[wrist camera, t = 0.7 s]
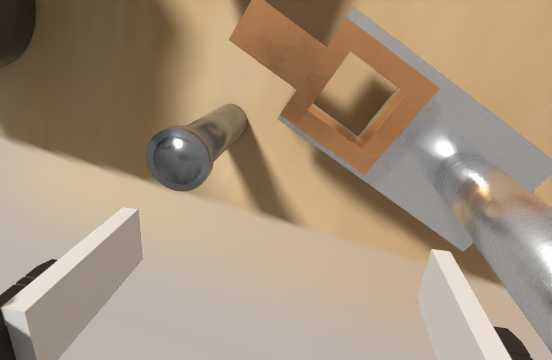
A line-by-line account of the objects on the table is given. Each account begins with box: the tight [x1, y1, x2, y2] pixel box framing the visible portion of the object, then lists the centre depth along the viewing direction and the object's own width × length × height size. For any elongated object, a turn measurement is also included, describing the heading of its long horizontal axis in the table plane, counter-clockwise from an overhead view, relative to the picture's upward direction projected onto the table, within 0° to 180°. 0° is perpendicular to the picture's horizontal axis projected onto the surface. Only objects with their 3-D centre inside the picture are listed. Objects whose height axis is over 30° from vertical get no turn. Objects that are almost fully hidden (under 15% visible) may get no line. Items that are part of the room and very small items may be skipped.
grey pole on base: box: [229, 0, 552, 353], centre depth 24 cm, size 26×10×24 cm, turn 56°
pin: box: [146, 104, 247, 191], centre depth 31 cm, size 5×5×14 cm
